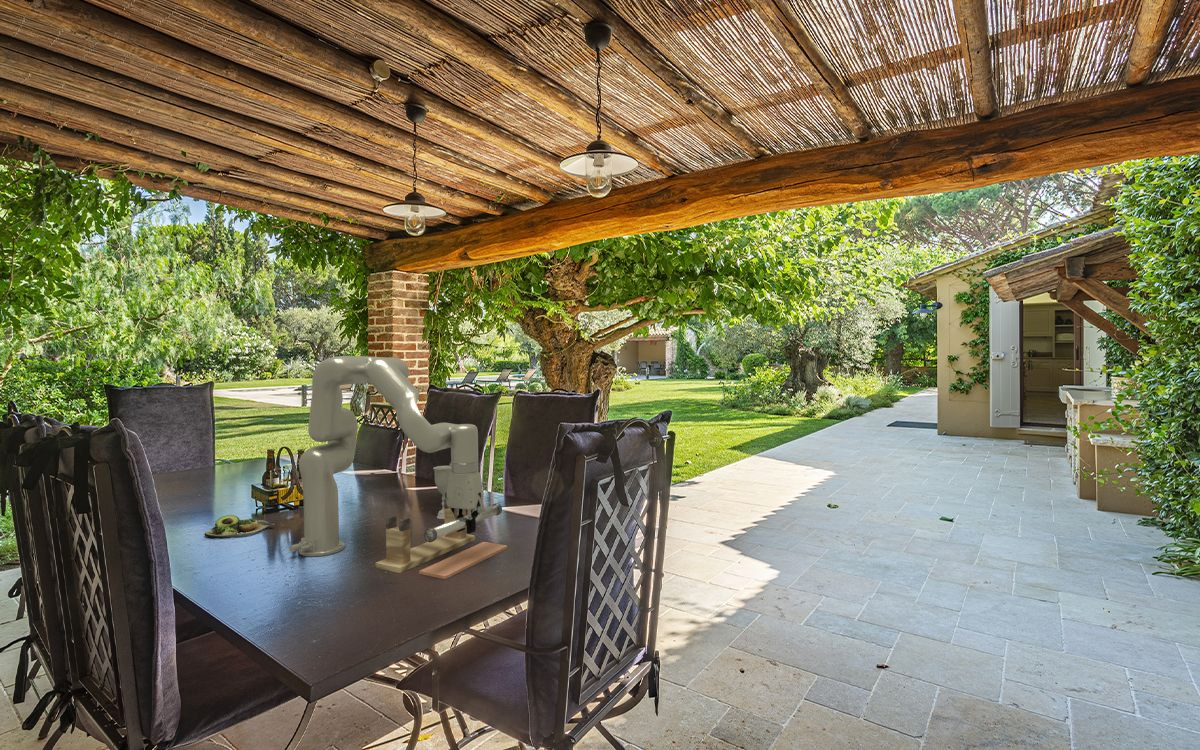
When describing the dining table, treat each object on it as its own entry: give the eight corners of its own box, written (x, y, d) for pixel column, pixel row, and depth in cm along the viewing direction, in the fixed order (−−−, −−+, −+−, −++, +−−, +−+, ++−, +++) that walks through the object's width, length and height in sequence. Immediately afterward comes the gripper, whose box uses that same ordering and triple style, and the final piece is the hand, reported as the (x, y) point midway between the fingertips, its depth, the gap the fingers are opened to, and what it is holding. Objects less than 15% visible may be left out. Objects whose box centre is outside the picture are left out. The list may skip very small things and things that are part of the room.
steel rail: (434, 543, 158) (434, 529, 158) (424, 541, 160) (423, 528, 160) (502, 515, 185) (502, 503, 185) (492, 514, 187) (492, 502, 187)
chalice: (446, 513, 224) (445, 465, 223) (457, 516, 219) (457, 467, 219) (429, 517, 218) (429, 467, 217) (441, 520, 214) (440, 470, 213)
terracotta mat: (445, 579, 158) (445, 576, 158) (419, 573, 162) (419, 570, 162) (507, 548, 183) (507, 545, 183) (483, 544, 187) (483, 541, 187)
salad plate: (283, 522, 213) (283, 509, 213) (262, 538, 195) (262, 524, 195) (225, 525, 210) (224, 512, 210) (198, 541, 193) (197, 526, 193)
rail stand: (399, 573, 163) (399, 523, 162) (375, 568, 167) (374, 519, 166) (474, 540, 191) (474, 498, 191) (452, 536, 195) (452, 495, 195)
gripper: (433, 467, 172) (434, 531, 173) (479, 472, 165) (480, 539, 165) (451, 463, 179) (452, 524, 179) (496, 467, 171) (497, 531, 172)
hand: (466, 531), depth 172 cm, fingers closed on steel rail, 3 cm apart
